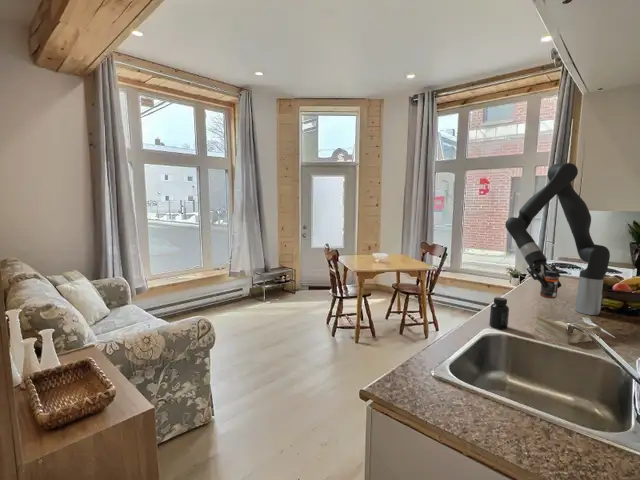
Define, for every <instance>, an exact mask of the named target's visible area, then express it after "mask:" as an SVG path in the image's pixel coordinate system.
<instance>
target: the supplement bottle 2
mask: <svg viewBox="0 0 640 480" xmlns="http://www.w3.org/2000/svg"><path fill="white" fill-rule="evenodd" d="M556 275H557V272H555V271H546V272H545V275H544V279H545V280H546V281H547V283H548V285H549V287H548V288H546V289H545V288H544V287H543V286H542V285H541V286H540V293H539V295H540V297H542V298H544V299H551V300H554V299H557V295H558V289H559V288H558V281H559V282H560V279H559V278H560V277H559V278H558V277H557V276H556Z"/></svg>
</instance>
